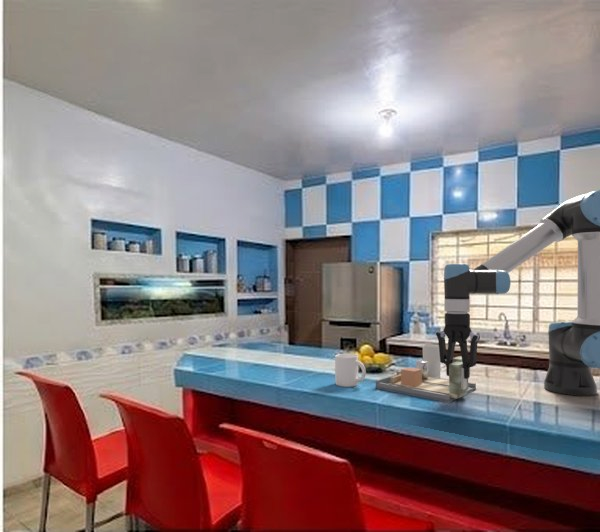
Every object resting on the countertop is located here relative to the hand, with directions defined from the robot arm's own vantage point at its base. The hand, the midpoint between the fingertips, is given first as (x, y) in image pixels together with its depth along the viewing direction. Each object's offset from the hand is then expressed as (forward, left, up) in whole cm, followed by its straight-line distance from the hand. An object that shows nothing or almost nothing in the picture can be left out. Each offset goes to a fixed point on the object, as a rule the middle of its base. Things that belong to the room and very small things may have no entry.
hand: (458, 387), depth 134 cm
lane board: (+13, -5, -4) cm, 15 cm away
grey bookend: (+20, -26, -4) cm, 34 cm away
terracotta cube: (+16, 0, -1) cm, 16 cm away
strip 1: (+14, -11, -2) cm, 17 cm away
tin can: (+17, -11, -1) cm, 20 cm away
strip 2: (+10, 0, -2) cm, 11 cm away
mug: (+35, +8, -4) cm, 37 cm away
